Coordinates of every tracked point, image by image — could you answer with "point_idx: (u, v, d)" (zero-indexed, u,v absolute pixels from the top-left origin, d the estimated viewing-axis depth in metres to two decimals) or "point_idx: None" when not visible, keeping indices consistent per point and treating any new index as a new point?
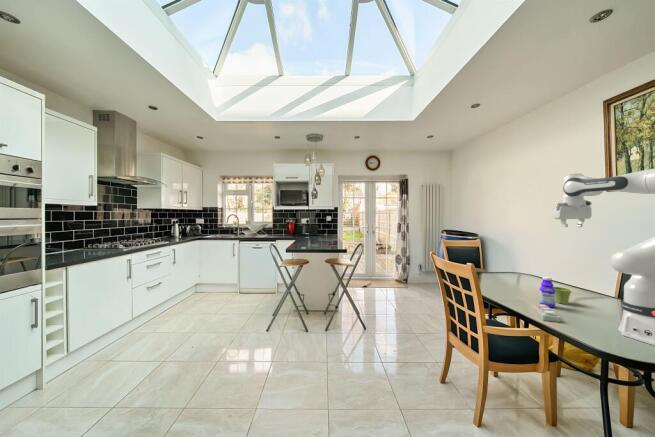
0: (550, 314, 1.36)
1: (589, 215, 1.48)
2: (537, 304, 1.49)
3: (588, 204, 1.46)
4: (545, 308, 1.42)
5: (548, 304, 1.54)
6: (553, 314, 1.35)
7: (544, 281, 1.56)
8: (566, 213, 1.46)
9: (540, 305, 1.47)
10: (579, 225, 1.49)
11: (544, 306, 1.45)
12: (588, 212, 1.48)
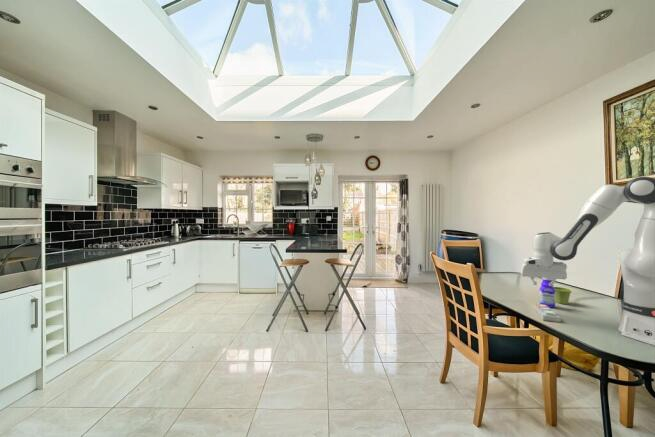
0: (550, 314, 1.36)
1: None
2: (537, 304, 1.49)
3: None
4: (545, 308, 1.42)
5: (548, 304, 1.54)
6: (553, 314, 1.35)
7: (544, 281, 1.56)
8: None
9: (540, 305, 1.47)
10: None
11: (544, 306, 1.45)
12: None
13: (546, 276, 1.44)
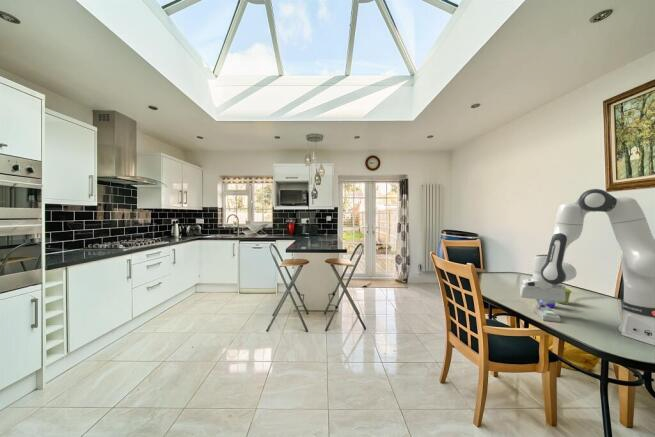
0: (550, 314, 1.36)
1: None
2: (537, 306, 1.49)
3: None
4: (545, 308, 1.42)
5: (548, 304, 1.54)
6: (553, 314, 1.35)
7: None
8: None
9: None
10: None
11: None
12: None
13: (545, 299, 1.45)
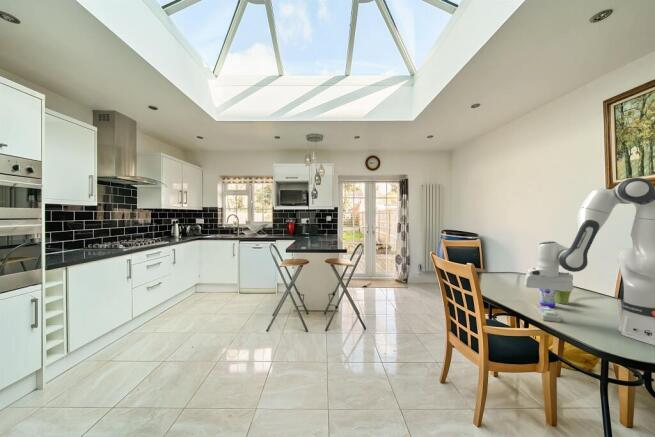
0: (550, 314, 1.36)
1: None
2: None
3: None
4: (545, 308, 1.42)
5: (548, 304, 1.54)
6: (553, 314, 1.35)
7: None
8: None
9: None
10: None
11: None
12: None
13: (551, 288, 1.38)
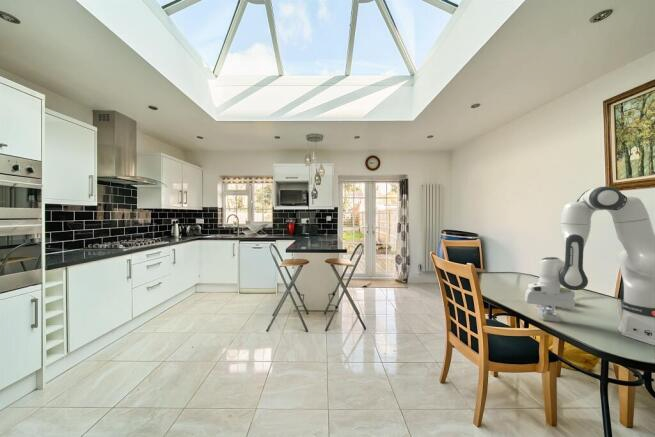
0: None
1: None
2: None
3: None
4: None
5: None
6: None
7: None
8: None
9: None
10: None
11: None
12: None
13: (552, 305, 1.35)
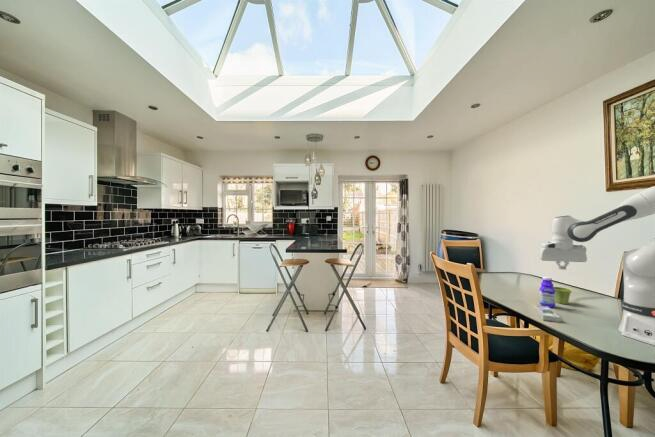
0: None
1: None
2: None
3: None
4: (545, 308, 1.42)
5: (548, 304, 1.54)
6: None
7: (544, 281, 1.56)
8: None
9: None
10: None
11: None
12: None
13: (566, 260, 1.44)
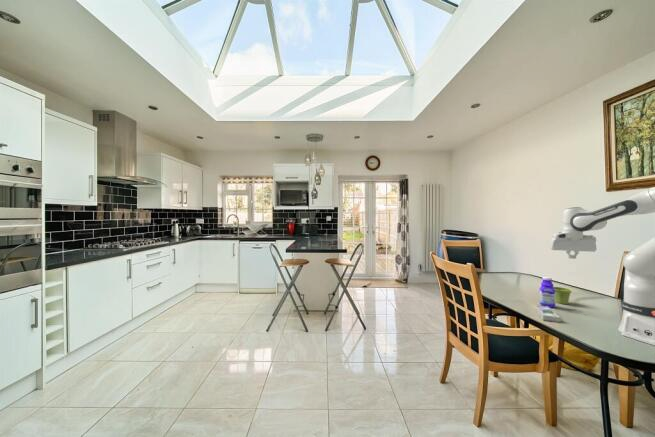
0: None
1: None
2: None
3: None
4: (545, 308, 1.42)
5: (548, 304, 1.54)
6: None
7: (544, 281, 1.56)
8: None
9: None
10: None
11: None
12: None
13: (576, 249, 1.51)
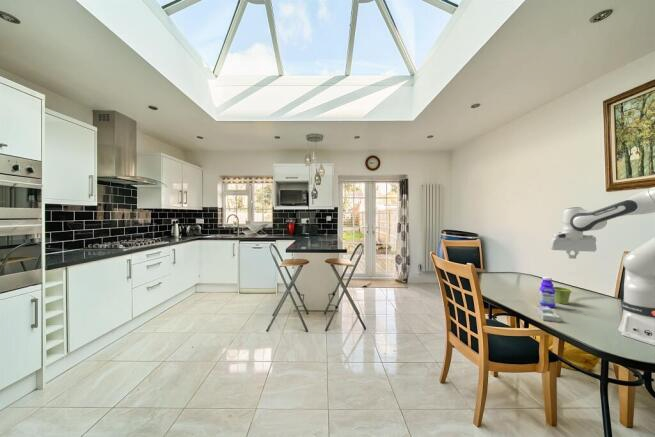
0: None
1: None
2: None
3: None
4: (545, 308, 1.42)
5: (548, 304, 1.54)
6: None
7: (544, 281, 1.56)
8: None
9: None
10: None
11: None
12: None
13: (576, 249, 1.51)
